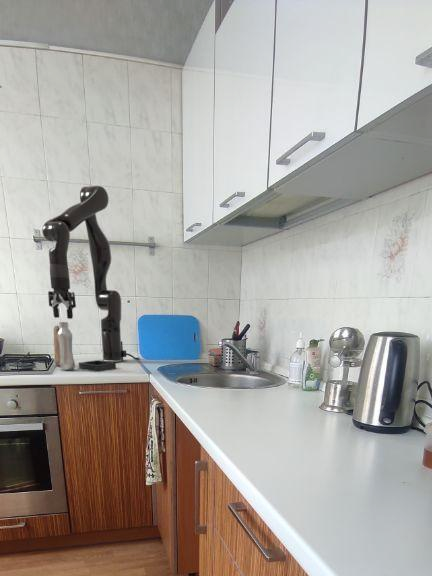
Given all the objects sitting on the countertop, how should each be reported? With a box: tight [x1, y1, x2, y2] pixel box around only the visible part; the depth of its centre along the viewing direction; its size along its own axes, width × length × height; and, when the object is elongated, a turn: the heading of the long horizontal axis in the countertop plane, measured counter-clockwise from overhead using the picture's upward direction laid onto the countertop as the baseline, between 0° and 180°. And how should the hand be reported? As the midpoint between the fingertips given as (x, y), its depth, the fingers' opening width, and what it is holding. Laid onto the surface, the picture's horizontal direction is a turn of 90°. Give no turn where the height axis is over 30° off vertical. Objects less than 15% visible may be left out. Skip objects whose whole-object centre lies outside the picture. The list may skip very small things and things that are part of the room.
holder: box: [78, 359, 117, 372], centre depth 212 cm, size 12×12×3 cm
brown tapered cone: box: [53, 325, 60, 367], centre depth 213 cm, size 6×18×6 cm
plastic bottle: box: [57, 321, 76, 371], centre depth 202 cm, size 6×7×20 cm
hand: (63, 318), depth 198 cm, fingers open, 8 cm apart
